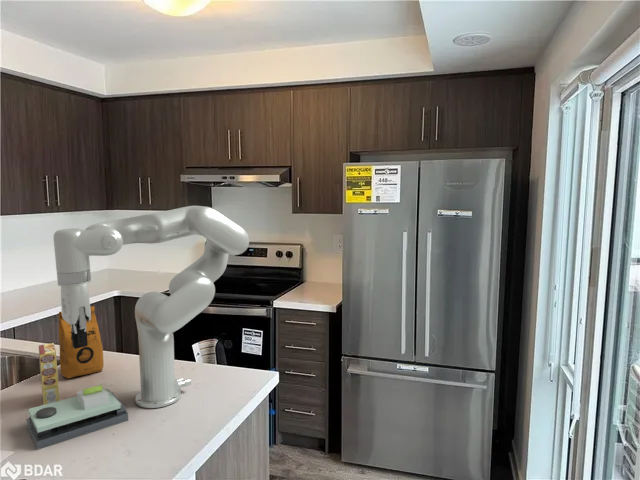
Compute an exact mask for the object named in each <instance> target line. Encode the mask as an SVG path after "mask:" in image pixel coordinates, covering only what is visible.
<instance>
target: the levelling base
mask: <svg viewBox="0 0 640 480" xmlns="http://www.w3.org/2000/svg"><path fill="white" fill-rule="evenodd" d="M110 392H111V391H110ZM111 393H112V394H113V395H114V396H115V397H116V398H117V400H118V401H119V402H120V403H121V404H122V406H121V408H120V409H116V410H113V411H109V412H106V413H103V414H99V415H96V416H93V417H89V418H86V419H82V420H79V421H76V422H72V423H69V424H66V425H62V426H59V427H55V428H52V429H49V430H45V431H42V432H39V433H38V432H37V430H36V428H35V426H34V424H33V422H32V420H31V418H30V416H28V417H27V418H25V422H26V423H25V424H26V427H27V430H28V433H29V434H30V435H29V436H30V437H31V439H32V441H33V443H34V446H35V448H36V450H41V449H44V448H47V447H49V446H52V445H56V444H59V443H62V442H65V441H68V440H71V439H72V440H73V439H75V438H78V437H80V436H84V435H88V434H90V433H94V432H96V431H99V430H102V429H105V428H109V427H111V426H114V425H117V424H122V423H125V422H127V421H129V413H128V411H127V410H128V409H127V407H126V406H125V405H124V403H123V402H122V401H121V400H120V399H119V398H118V397H117V396H116V395H115V394H114V392H111Z"/></svg>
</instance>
